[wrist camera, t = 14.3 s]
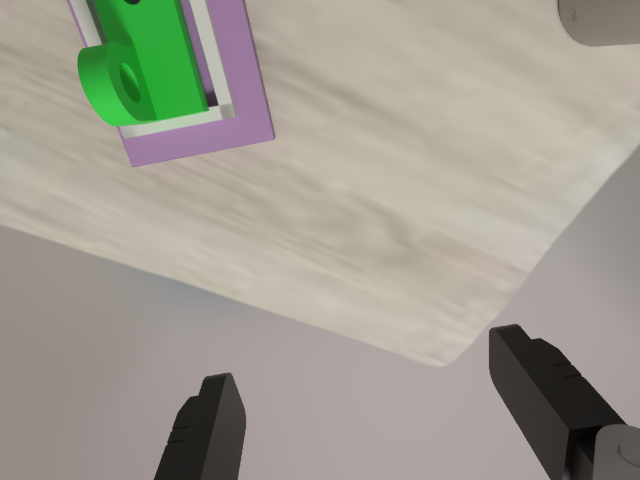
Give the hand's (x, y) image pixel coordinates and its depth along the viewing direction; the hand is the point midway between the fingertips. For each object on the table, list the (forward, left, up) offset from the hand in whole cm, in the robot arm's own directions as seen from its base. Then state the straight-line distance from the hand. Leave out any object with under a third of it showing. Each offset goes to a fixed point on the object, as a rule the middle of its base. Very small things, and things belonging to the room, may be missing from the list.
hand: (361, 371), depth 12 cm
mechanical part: (+12, -13, -28) cm, 33 cm away
